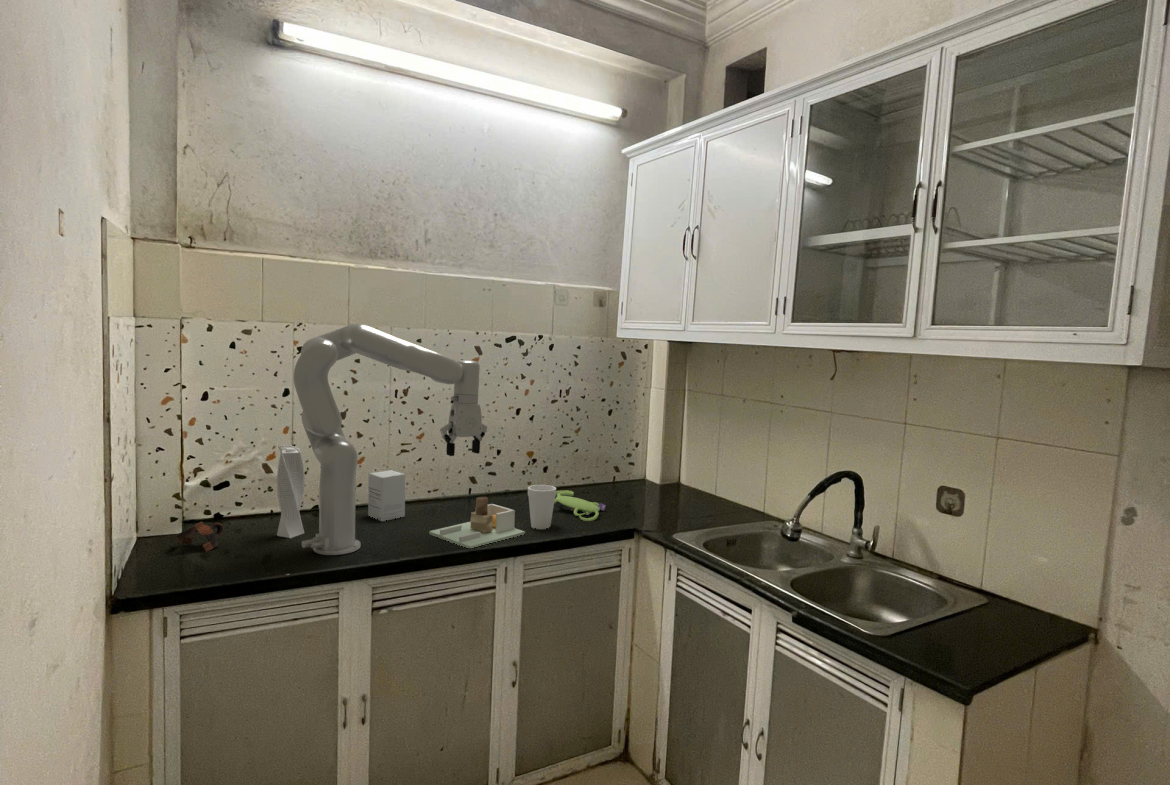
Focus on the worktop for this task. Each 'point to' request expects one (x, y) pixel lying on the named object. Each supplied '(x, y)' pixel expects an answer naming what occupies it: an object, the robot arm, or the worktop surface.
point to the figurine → (579, 504)
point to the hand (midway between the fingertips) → (463, 454)
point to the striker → (481, 516)
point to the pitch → (475, 538)
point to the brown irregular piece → (204, 531)
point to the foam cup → (541, 505)
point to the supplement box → (386, 495)
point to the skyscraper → (290, 491)
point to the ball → (494, 521)
